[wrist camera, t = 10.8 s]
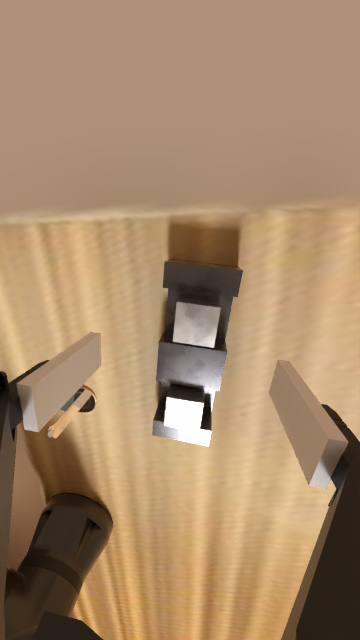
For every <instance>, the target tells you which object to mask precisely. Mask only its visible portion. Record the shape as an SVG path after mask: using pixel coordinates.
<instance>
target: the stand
mask: <svg viewBox="0 0 360 640" xmlns="http://www.w3.org/2000/svg"><path fill="white" fill-rule="evenodd" d="M96 404H97V399H96V396H95V394H94V393H93V392H92V391H91V390H90V389H88V388H86V387H84V386H81V387H80V388H79V389H78V391H77V392H76V393H75V394H74V395H73V396H72V397H71V398H70V399H69V400H68V401H67V402H66V403H65V404H64V405H63V407H62V408H61V409H60V410H63V411H66V412H65V413H64V414H63V415H62V416H61V417H60V419H59V420H58V421H57V422H56V423H55V424H54V425H51V426H50V427H49V429H48V437H49V438H57V437H58V436H59V435H60V433H61V432H62V431H63V430H64V428H65V427H66V426H67V425H68V424H69V422H70V421H71V420H72V419H73V417H74V416H75V415H76V414H77V412H90V411H92V410H93V409H94V408H95V406H96Z"/></svg>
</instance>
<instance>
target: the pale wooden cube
mask: <svg viewBox="0 0 360 640" xmlns="http://www.w3.org/2000/svg"><path fill="white" fill-rule="evenodd" d="M220 309H221V306H220V300H219V297H216V296H208V295H201V294H193V293H185V292H183V293H182V294H181V296H180V297H179V299H178V301H177V303H176V314H175V324H174V334H173V342H179V343H186V344H192V345H199V346H205V347H212V348H214V344H215V338H216V333H217V327H218V321H219V315H220Z"/></svg>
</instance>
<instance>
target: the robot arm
mask: <svg viewBox="0 0 360 640" xmlns="http://www.w3.org/2000/svg"><path fill="white" fill-rule="evenodd" d="M100 366H101V334H100V333H93V332H90V333H89V334H88V335H86V336H85V337H83V338H82V339H80V340H79V341H77V342H76V343H74V344H73V345H72V346H70V347H69V348H67V349H66V350H64V351H63V352H61V353H60V354H59V355H57V356H56V357H54V358H53V359H51V360H46V361H44V362H41V363H39V364H37V365H35V366H34V367H32V368H31V370H30V369H29V370H28V371H26V372H25V373H23V374H22V375H20V376H19V377H17V378H16V379H14V380H13V381H11V382H10V383H8V380H7V375H6V373H4V372H2V371H0V640H103V639H102V638H101V637H100V636H98V635H97V634H96V633H95V632H94V631H93V630H92V629H91V628H89V627H88V626H87V625H86V624H85V623H84V622H83V621H81V620H77V619H74V618H70V616H71V614H72V611H73V608H74V606H75V603H76V600H77V598H78V595H79V592H80V590H81V587H82V585H83V582H84V580H85V578H86V576H87V575H88V573H89V571H90V570H91V568H92V567H93V565H94V564H95V562H96V560H97V559H98V557H99V556H100V554H101V553H102V551H103V549H104V548H105V546H106V545H107V543H108V540H109V537H110V534H111V532H112V528H113V524H112V520H111V518H110V516H109V515H108V513H107V512H106V511H105V510H104V509H103V508H102V507H101V506H100V505H98V504H97V503H95V502H94V501H92V500H90V499H88V498H86V497H83V496H80V495H76V494H59V495H56V496H54V497H52V498H51V499H50V500H49V502H48V503H47V505H46V506H45V508H44V510H43V511H42V513H41V516H40V518H39V521H38V524H37V527H36V530H35V533H34V535H33V538H32V541H31V544H30V547H29V549H28V552H27V554H26V556H25V557H24V559H23V561H22V562H21V564H20V566H19V567H18V569H17V571H15V570H14V569H12V568H11V567H9V566H7V557H8V544H9V531H10V518H11V505H12V493H13V480H14V467H15V453H16V440H17V428H16V426H17V425H18V424H19V423H20V422H21V421H23V424H24V430H29V431H34V432H39V431H40V430H41V429H42V428H43V427H44V426H45V425H46V424H47V423H48V421H49V420H50V419H51V418H52V417H53V416H54V415H55V414H56V413H57V412H58V411H59V410H60V409H61V408H62V407H63V405H64V404H65V403H66V402H67V401H68V400H69V399H70V398H71V397H72V396H73V395H74V394H75V393H76V392H77V391H78V389H79V388H80V387H81V386H82V385H83V384H84V383H85V382H86V381H87V380H88V379H89V378H90V377H91V376H92V375H93V373H94V372H95V371H96V370H97V369H98V368H99V367H100ZM269 394H270V396H271V398H272V401H273V403H274V405H275V408H276V410H277V412H278V415H279V417H280V419H281V422H282V424H283V426H284V429H285V431H286V433H287V436H288V438H289V440H290V443H291V445H292V447H293V450H294V452H295V454H296V457H297V459H298V461H299V463H300V466H301V468H302V470H303V473H304V475H305V477H306V480H307V482H308V484H309V485H310V486H315V487H320V488H325V489H327V487H328V485H329V483H330V481H331V479H332V481H333V483H334V485H335V487H336V491H335V493H334V495H333V497H332V499H331V501H330V503H329V505H328V506H329V509H328V512H327V514H326V517H325V520H324V523H323V525H322V528H321V531H320V534H319V537H318V539H317V542H316V545H315V548H314V550H313V553H312V556H311V559H310V561H309V564H308V567H307V570H306V572H305V575H304V578H303V581H302V584H301V586H300V589H299V592H298V595H297V597H296V600H295V603H294V606H293V608H292V611H291V614H290V617H289V619H288V622H287V625H286V628H285V630H284V633H283V636H282V639H281V640H360V442H359V440H358V439H357V438H356V437H355V435H354V434H353V433H352V432H351V430H350V429H349V428H347V425H346V424H345V423H344V422H343V421H342V419H341V418H340V416H339V415H338V414H337V413H336V412H335V411H334V410H333V409H331V408H330V407H329V406H328V405H324V404H320V402H319V401H318V400H317V398H316V397H315V396H314V394H313V393H312V392H311V390H310V389H309V387H308V386H307V385H306V383H305V382H304V381H303V379H302V378H301V377H300V375H299V374H298V373H297V371H296V370H295V368H294V367H293V366H292V364H291V363H290V362H289V361H283V360H278V362H277V365H276V369H275V373H274V376H273V380H272V383H271V387H270V390H269Z"/></svg>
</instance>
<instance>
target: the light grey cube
mask: <svg viewBox="0 0 360 640" xmlns="http://www.w3.org/2000/svg"><path fill="white" fill-rule="evenodd" d="M203 404H204V389H202V388H197V387H191V386H185V385H179V384H173V383H171V384H170V388H169V391H168V394H167V399H166V410H165V420H164V426H169V427H174V428H179V429H184V430H190V431H195V432H199V428H200V422H201V416H202V410H203Z"/></svg>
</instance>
